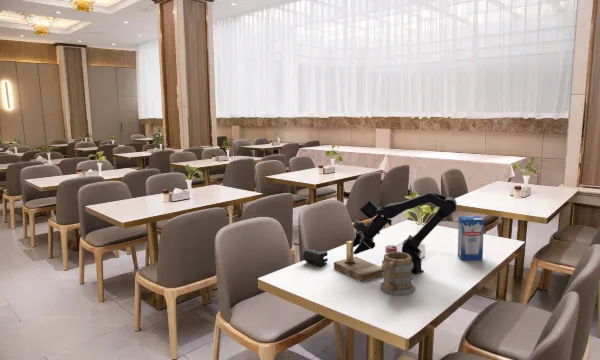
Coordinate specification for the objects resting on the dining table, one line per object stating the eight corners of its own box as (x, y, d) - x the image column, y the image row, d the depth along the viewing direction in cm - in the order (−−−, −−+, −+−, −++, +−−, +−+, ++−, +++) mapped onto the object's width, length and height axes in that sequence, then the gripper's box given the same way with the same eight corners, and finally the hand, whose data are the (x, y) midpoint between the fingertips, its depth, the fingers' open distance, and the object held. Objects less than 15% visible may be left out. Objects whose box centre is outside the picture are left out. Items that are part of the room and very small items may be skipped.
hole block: (384, 275, 189) (384, 268, 188) (362, 281, 182) (362, 275, 181) (355, 262, 205) (355, 256, 205) (334, 268, 199) (333, 262, 198)
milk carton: (478, 256, 209) (479, 216, 206) (482, 260, 203) (484, 219, 200) (457, 256, 210) (458, 216, 207) (460, 260, 204) (462, 219, 201)
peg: (355, 269, 197) (354, 241, 195) (349, 270, 195) (349, 243, 193) (350, 267, 199) (350, 240, 197) (345, 268, 198) (344, 241, 196)
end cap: (303, 263, 206) (302, 250, 205) (312, 260, 211) (312, 246, 210) (318, 268, 199) (318, 254, 198) (328, 264, 204) (328, 250, 203)
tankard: (390, 280, 183) (390, 246, 180) (418, 287, 175) (419, 251, 172) (366, 296, 167) (366, 259, 165) (396, 304, 159) (396, 266, 157)
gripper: (359, 209, 203) (337, 233, 204) (367, 219, 184) (342, 245, 186) (376, 225, 204) (353, 248, 205) (385, 236, 186) (360, 261, 187)
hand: (352, 250), depth 196 cm, fingers open, 9 cm apart
